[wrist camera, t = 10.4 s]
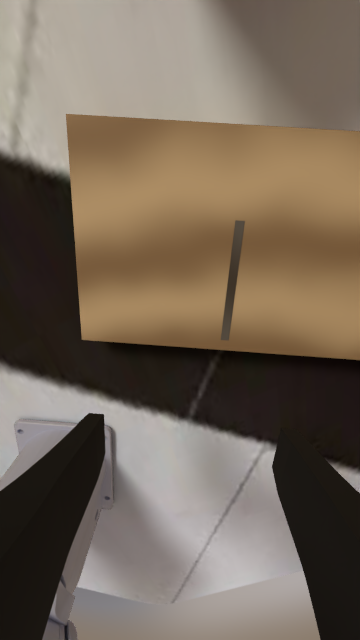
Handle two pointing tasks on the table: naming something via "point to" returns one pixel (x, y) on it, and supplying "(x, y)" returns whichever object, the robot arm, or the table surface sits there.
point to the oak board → (217, 235)
